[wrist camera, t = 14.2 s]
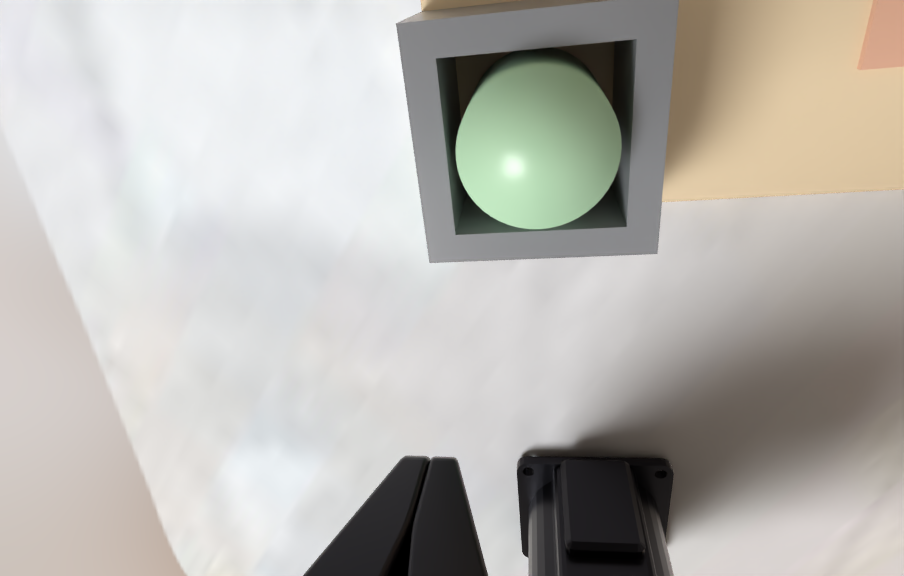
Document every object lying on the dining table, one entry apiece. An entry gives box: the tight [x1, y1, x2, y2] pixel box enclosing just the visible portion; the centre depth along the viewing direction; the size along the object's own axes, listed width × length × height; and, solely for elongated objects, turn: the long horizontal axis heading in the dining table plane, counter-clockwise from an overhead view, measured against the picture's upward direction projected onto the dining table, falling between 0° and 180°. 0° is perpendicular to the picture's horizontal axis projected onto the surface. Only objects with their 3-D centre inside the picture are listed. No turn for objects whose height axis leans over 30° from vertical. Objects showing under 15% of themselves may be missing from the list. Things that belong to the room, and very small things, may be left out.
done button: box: [456, 47, 622, 229], centre depth 14 cm, size 4×4×4 cm
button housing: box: [396, 0, 679, 263], centre depth 15 cm, size 6×6×4 cm
